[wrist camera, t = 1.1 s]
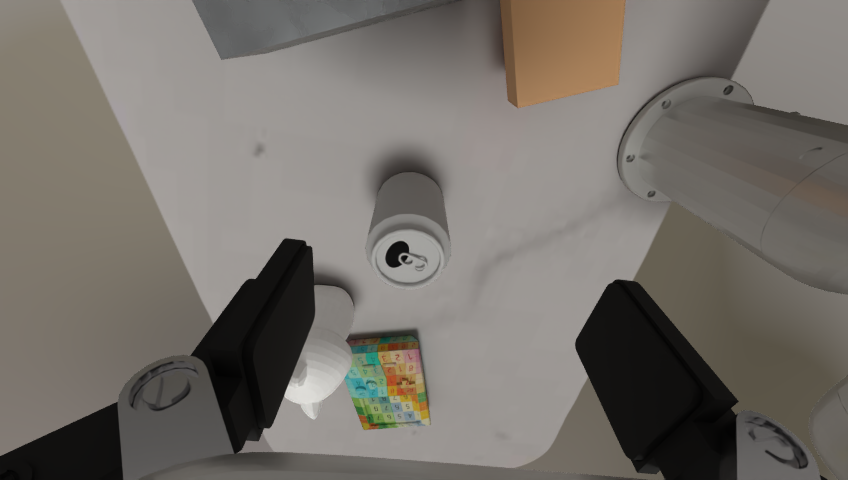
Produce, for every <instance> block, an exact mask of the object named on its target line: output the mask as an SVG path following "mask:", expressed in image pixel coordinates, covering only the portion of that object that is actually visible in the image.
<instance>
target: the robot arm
mask: <svg viewBox="0 0 848 480" xmlns="http://www.w3.org/2000/svg"><path fill="white" fill-rule="evenodd" d="M618 170H619V174H620V177H621V180H622V181H623V183H624V184H625V186H626V187H627V188H628V189H629V190H630V191H631V192H633V193H634V194H636V195H637V196H639V197H640V198H643V199H645V200H648V201H655V202H670V201H675V202H676V203H678V204H679V205H681V206H682V207H684V208H685V209H687V210H689V211H690V212H692V213H693V214H695V215H696V216H698V217H699V218H701V219H702V220H704V221H705V222H707V223H708V224H710V225H711V226H713V227H714V228H716V229H717V230H719V231H721V232H722V233H723V234H725V235H727V236H728V237H730V238H731V239H733V240H734V241H736V242H737V243H739V244H740V245H742V246H743V247H745V248H746V249H748V250H749V251H751V252H752V253H754V254H756V255H757V256H758V257H760V258H762V259H763V260H765V261H766V262H768V263H769V264H771V265H772V266H774V267H775V268H777V269H779V270H780V271H782V272H783V273H785V274H786V275H788V276H790V277H791V278H793V279H795V280H797V281H799V282H801V283H804V284H806V285H809V286H811V287H814V288H818V289H821V290H824V291H828V292H835V293H840V294H847V295H848V125H843V124H839V123H834V122H830V121H825V120H821V119H815V118H811V117H807V116H801V115H800V113H798V112H791V113H788V112H784V111H779V110H774V109H770V108H765V107H761V106H756V105H754V103H753V100H752V97H751V95H750V94H749V93H748V91H747V90H746V89H745V88H744V87H743V86H741V85H740V84H738V83H737V82H734V81H731V80H728V79H725V78H718V77H700V78H695V79H691V80H687V81H684V82H682V83H680V84H677V85H675V86H673V87H671V88H669V89H668V90H666V91H664V92H663V93H661V94H659V95H658V96H657V97H656V98H654V99H653V100H652V101H651V102H649V103H648V104H647V105H646V106H645V107H644V108H643V109H642V110H641V112H640V113H639V114H638V115H637V116H636V118H635V119H634V120H633V122H632V123H631V124H630V126H629V128H628V130H627V132H626V133H625V135H624V137H623V140H622V143H621V146H620V149H619V155H618ZM314 318H315V293H314V272H313V252H312V247H311V246H307V245H306V242H305V241H303V240H295V239H287V238H286V239H284V240H283V241H282V242H281V244H280V245H279V247H278V248H277V250H276V251H275V252H274V254H273V255H272V257H271V258H270V260H269V261H268V262H267V264H266V265H265V267H264V268H263V270H262V271H261V272H260V274H259V275H258V277H257V278H256V279H248V280H247V281H246V282H245V283H244V284H243V285H242V286H241V288H240V289H239V290H238V292H237V293H236V294H235V296H234V297H233V299H232V300H231V301H230V303H229V304H228V305H227V307H226V308H225V309H224V311H223V312H222V313H221V315H220V316H219V317H218V319H217V320H216V322H215V323H214V324H213V326H212V327H211V328H210V330H209V331H208V332H207V334H206V335H205V336H204V338H203V339H202V341H201V342H200V343H199V345H198V346H197V347H196V349H195V350H194V351H193V353H192V354H191V355H190V356H188V355H178V356H171V357H167V358H164V359H160V360H158V361H156V362H153V363H151V364H149V365H147V366H146V367H144V368H143V369H141V370H140V371H138V372H137V373H136V374H134V376H133V377H132V378H131V379H130V380H129V381H128V382H127V383H126V384H125V385H124V387H123V389H122V391H121V392H120V394H119V399H118V402H116V403H114V404H112V405H110V406H107V407H105V408H103V409H101V410H99V411H97V412H94V413H92V414H90V415H88V416H86V417H84V418H82V419H80V420H77V421H75V422H73V423H71V424H69V425H66V426H64V427H62V428H60V429H58V430H56V431H53V432H51V433H49V434H47V435H45V436H43V437H41V438H39V439H36V440H34V441H32V442H30V443H28V444H25V445H23V446H21V447H19V448H17V449H15V450H13V451H10V452H8V453H6V454H4V455H2V456H0V480H646V479H634V478H623V477H611V476H598V475H588V474H576V473H564V472H551V471H540V470H526V469H515V468H503V467H490V466H478V465H465V464H452V463H439V462H426V461H413V460H400V459H386V458H373V457H360V456H343V455H325V454H308V453H290V452H249V453H238V452H239V451H241V450H242V448H243V446H244V444H245V441H246V440H249V441H259V439H260V437H261V434H262V432H263V429H264V428H270V427H271V426H272V424H273V422H274V420H275V417H276V415H277V412H278V410H279V407H280V405H281V402H282V400H283V397H284V395H285V392H286V390H287V387H288V385H289V382H290V380H291V377H292V374H293V372H294V369H295V367H296V364H297V362H298V359H299V357H300V354H301V352H302V349H303V347H304V344H305V342H306V339H307V337H308V334H309V332H310V329H311V327H312V324H313V321H314ZM575 347H576V351H577V353H578V355H579V357H580V360H581V362H582V364H583V366H584V368H585V370H586V372H587V375H588V377H589V379H590V381H591V383H592V385H593V387H594V389H595V392H596V394H597V396H598V398H599V400H600V402H601V405H602V406H603V409H604V411H605V413H606V415H607V417H608V419H609V422H610V424H611V426H612V428H613V430H614V432H615V435H616V437H617V439H618V441H619V443H620V445H621V447H622V449H623V451H624V453H625V455H626V456H627V457H628V458H629V459H631V461H632V463H633V465H634V467H635V469H636V471H637V472H638V473H648V474H657V473H658V472H659V471H661V472H662V474H663V476H664V480H827V479H826V478H824V477H822V476H821V475H819V470H818V466H817V463H816V461H815V459H814V456H813V455H812V454H811V452H810V451H809V450H808V448H807V447H806V446H805V445H804V444H803V443H802V442H801V441H800V440H799V439H798V437H797V436H795V435H794V434H793V433H792V432H790V431H789V430H788V429H787V428H786V427H784V426H783V425H781V424H779V423H778V422H776V421H775V420H773V419H771V418H769V417H767V416H765V415H763V414H761V413H758V412H754V411H747V410H746V411H745V410H743V411H741V412H739V413H738V414H737V415H735V413H734V412H733V411H732V410H731V408H732V407H733V406H734V405H735V404H736V403H737V402H738V400H737V399H736V398H735V397H734V395H733V394H732V393H731V392H730V391H729V389H728V388H727V387H726V386H725V385H724V384H723V383H722V381H721V380H720V379H719V378H718V376H717V375H716V374H715V373H714V372H713V370H712V369H711V368H710V367H709V366H708V364H707V363H706V362H705V361H704V360H703V359H702V357H701V356H700V355H699V354H698V353H697V351H696V350H695V349H694V348H693V347H692V346H691V345H690V343H689V342H688V341H687V340H686V338H685V337H684V336H683V335H682V334H681V333H680V331H679V330H678V329H677V328H676V327H675V326H674V324H673V323H672V322H671V321H670V320H669V318H668V317H667V316H666V315H665V314H664V312H663V311H662V310H661V309H660V308H659V306H658V305H657V304H656V303H655V302H654V300H653V299H652V298H651V297H650V296H649V295H648V294H647V292H646V291H645V290H644V289H643V287H642V286H641V285H640V284H639V283H638V282H635V281H627V280H615V281H613V283H610V284H609V285H608V286H607V287H606V289H605V290H604V292H603V294H602V296H601V297H600V299H599V301H598V303H597V304H596V306H595V308H594V310H593V311H592V313H591V315H590V316H589V318H588V320H587V322H586V323H585V325H584V327H583V329H582V330H581V332H580V334H579V336H578V337H577V339H576V343H575ZM809 432H810V437H811V440H812V442H813V445H814V447H815V448H816V451H817V452H818V454H819V456H820V457H821V459H822V460H823V462H824V463H825V465H826V466H827V467H828V468H829V470H830V471H831V472H832V473H833V474H834V475H835V477H836V478H837V479H838V480H848V375H847V376H846V377H845V378H843V379H842V380H841V381H840V382H838V383H837V384H836V385H834V386H833V387H832V388H831V389H830V390H829V391H827V393H825V394H824V395H823V396H822V397H821V398H820V400H819V401H818V402H817V403H816V404H815V406H814V408H813V410H812V412H811V414H810V419H809ZM236 453H237V454H236Z"/></svg>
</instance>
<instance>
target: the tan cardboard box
mask: <svg viewBox="0 0 848 480" xmlns="http://www.w3.org/2000/svg"><path fill="white" fill-rule="evenodd" d="M625 2H626V0H500V8H501V21H502V33H503V45H504V58H505V70H506V83H507V95H508V101H509V102H510V103H512V104H513V105H514V106H516V107H517V108H521V107H525V106H529V105H533V104H538V103H542V102H546V101H550V100H554V99H559V98H563V97H567V96H571V95H576V94H580V93H584V92H588V91H593V90H597V89H601V88H605V87H610V86H614V85H618V81H619V70H620V58H621V47H622V36H623V24H624V13H625Z"/></svg>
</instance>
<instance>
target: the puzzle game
mask: <svg viewBox="0 0 848 480" xmlns="http://www.w3.org/2000/svg"><path fill="white" fill-rule="evenodd" d="M347 343H348V345H349V346H350V348H351V351H352V354H353V360H352V365H351V367H350V370H349V372H348V373H347V375H346V376H345V378H344V379H345V382H346V384H347V387H348V389H349V392H350V395H351V397H352V400H353V403H354V405H355V408H356V411H357V413H358V416H359V419H360V421H361V424H362V427H363V429H364V430H368V429H383V428H397V427H411V426H425V425H431V424H430V413H429V406H428V400H427V393H426V387H425V380H424V374H423V367H422V361H421V354H420V348H419V341H418V340H416V339H415V338H414V337H413V336H411V335H409V336H397V337H384V338H372V339H359V340H350V341H349V342H347Z"/></svg>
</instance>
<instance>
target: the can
mask: <svg viewBox="0 0 848 480" xmlns="http://www.w3.org/2000/svg"><path fill="white" fill-rule="evenodd" d="M365 249H366V255H367V260H368V261H369V263H370V265H371V266H372V268H373V270H374V272H375V273H376V275H377V276H378V277H379V278H380V279H381V280H382V281H383V282H384V283H386V284H388V285H390V286H392V287H395V288H400V289H418V288H421V287H424V286H427V285H429V284H430V283H432V282H433V281H435V280H436V279H437V278H438V276H439V275H440V274H441V273H442V270H443V269H444V268H445V267H446V265H447V263H448V261H449V258H450V255H451V243H450V237H449V230H448V224H447V218H446V212H445V206H444V199H443V196H442V193H441V190H440V188H439V187H438V186H437V184H436V183H435V182H434V181H433V180H432V179H430V178H428V177H427V176H425V175H423V174H419V173H415V172H404V173H400V174H397V175H394V176H392V177H391V178H389V179H388V180H387V181H386V182H384V184H383V185H382V187H381V188H380V190H379V192H378V196H377V200H376V204H375V208H374V213H373V217H372V221H371V225H370V229H369V234H368V238H367V243H366V247H365Z"/></svg>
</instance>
